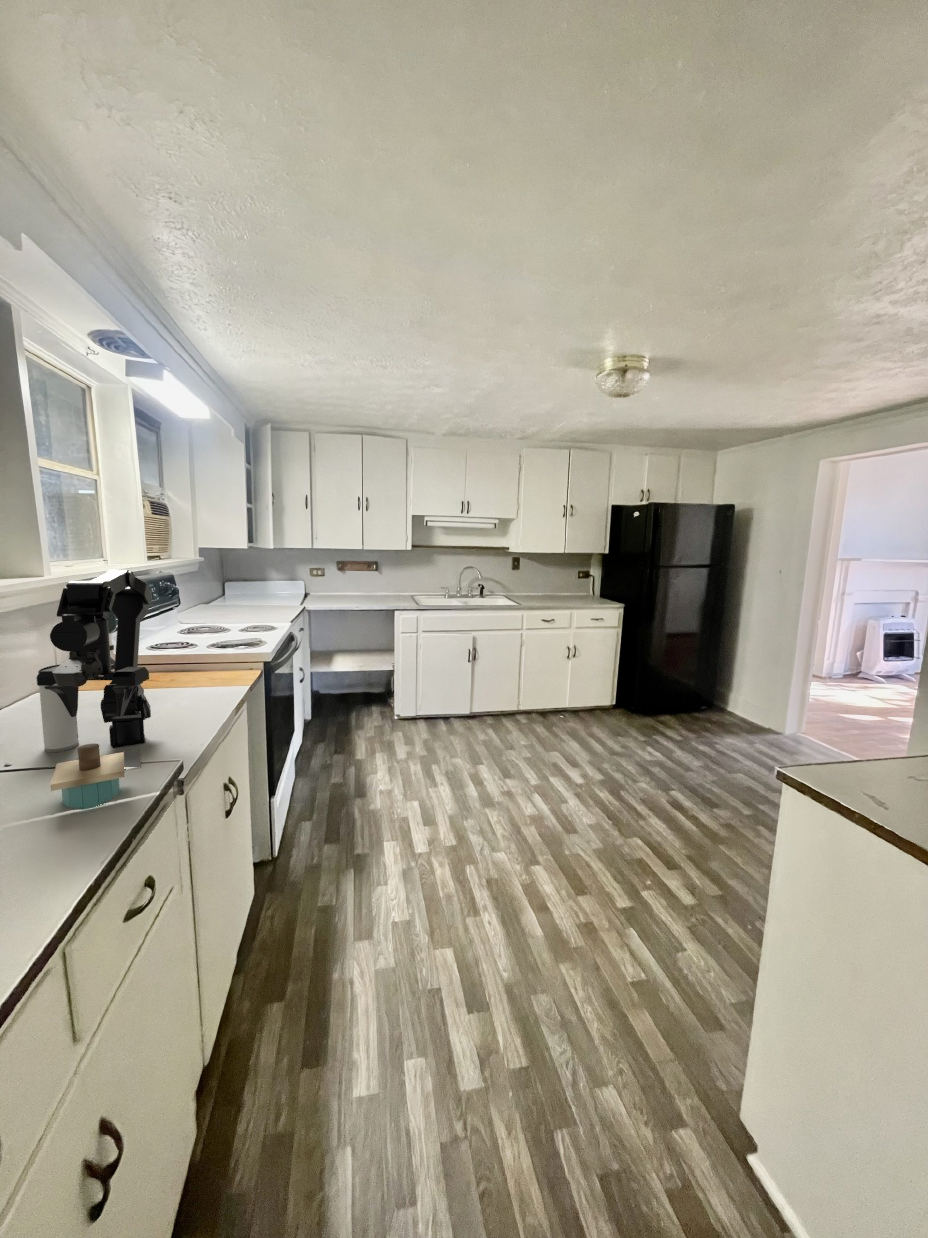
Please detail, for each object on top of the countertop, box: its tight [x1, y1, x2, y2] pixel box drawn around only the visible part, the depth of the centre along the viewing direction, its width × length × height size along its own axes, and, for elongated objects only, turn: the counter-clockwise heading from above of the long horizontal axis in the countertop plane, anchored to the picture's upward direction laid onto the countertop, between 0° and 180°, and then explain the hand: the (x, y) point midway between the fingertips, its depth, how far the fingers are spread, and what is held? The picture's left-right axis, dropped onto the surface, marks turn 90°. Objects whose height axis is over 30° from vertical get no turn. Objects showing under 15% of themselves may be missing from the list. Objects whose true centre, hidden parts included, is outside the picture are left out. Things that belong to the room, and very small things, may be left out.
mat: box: [76, 748, 142, 772], centre depth 107 cm, size 12×12×1 cm
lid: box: [49, 743, 125, 792], centre depth 92 cm, size 10×10×5 cm
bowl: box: [61, 778, 121, 811], centre depth 92 cm, size 8×8×5 cm
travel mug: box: [37, 664, 80, 753], centre depth 114 cm, size 6×7×20 cm
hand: (97, 716), depth 101 cm, fingers open, 9 cm apart
